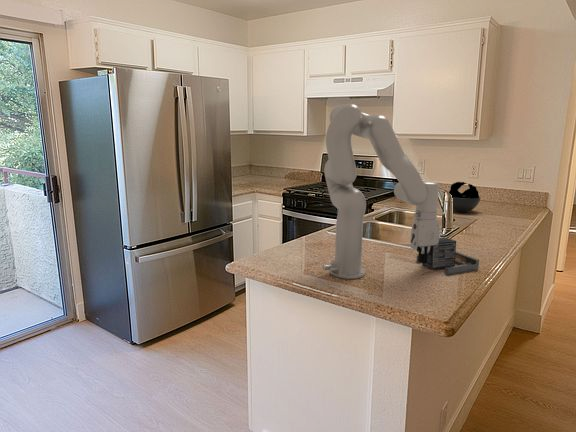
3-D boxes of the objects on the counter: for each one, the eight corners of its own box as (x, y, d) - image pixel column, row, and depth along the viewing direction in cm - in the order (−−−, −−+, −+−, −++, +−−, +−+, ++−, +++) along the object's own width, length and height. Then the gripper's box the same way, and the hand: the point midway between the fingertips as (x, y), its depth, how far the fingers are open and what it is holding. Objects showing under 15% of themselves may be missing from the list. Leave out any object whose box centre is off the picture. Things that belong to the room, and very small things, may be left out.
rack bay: (447, 275, 155) (448, 264, 154) (416, 261, 170) (417, 251, 169) (478, 269, 161) (479, 259, 160) (445, 257, 176) (445, 247, 175)
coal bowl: (444, 207, 281) (447, 179, 277) (477, 210, 274) (480, 181, 270) (444, 213, 262) (447, 183, 258) (480, 216, 256) (483, 185, 252)
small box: (444, 262, 169) (446, 236, 167) (455, 267, 162) (457, 240, 160) (421, 264, 166) (423, 238, 164) (431, 269, 160) (433, 242, 158)
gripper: (416, 218, 149) (412, 268, 153) (449, 215, 155) (444, 263, 159) (402, 214, 156) (399, 262, 160) (434, 211, 162) (430, 257, 166)
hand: (422, 262), depth 160 cm, fingers closed
